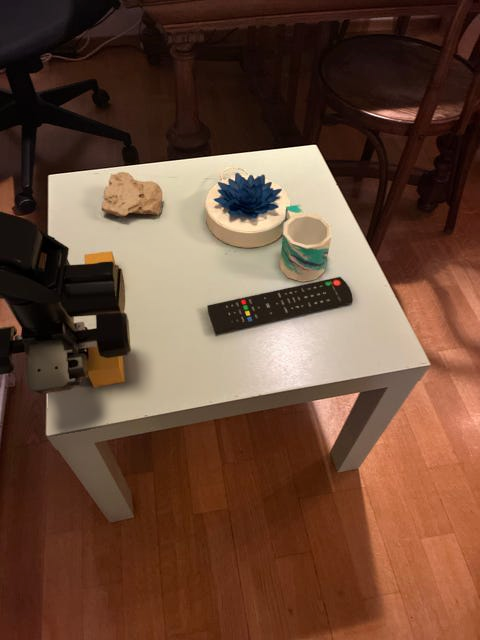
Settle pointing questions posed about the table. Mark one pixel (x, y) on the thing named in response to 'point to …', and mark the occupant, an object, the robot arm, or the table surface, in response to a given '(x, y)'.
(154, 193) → the stone
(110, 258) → the ochre block middle
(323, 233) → the mug
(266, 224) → the box with blue lotus
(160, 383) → the table surface
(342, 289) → the remote control
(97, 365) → the ochre block near
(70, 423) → the table surface
